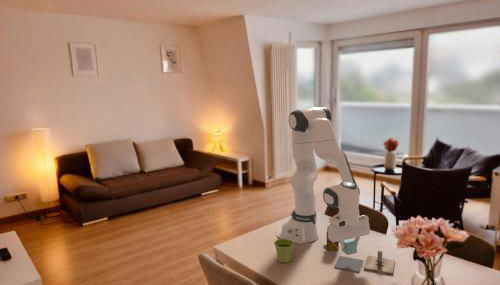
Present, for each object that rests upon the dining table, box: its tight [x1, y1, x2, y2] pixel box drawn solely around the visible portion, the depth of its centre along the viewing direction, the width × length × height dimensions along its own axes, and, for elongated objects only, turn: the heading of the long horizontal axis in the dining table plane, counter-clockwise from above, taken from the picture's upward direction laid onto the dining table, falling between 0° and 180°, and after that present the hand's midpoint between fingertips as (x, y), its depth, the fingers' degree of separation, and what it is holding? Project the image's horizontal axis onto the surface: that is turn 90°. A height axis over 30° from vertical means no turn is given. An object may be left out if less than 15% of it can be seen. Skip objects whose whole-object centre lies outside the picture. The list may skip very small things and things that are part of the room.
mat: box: [333, 255, 364, 274], centre depth 161 cm, size 11×11×1 cm
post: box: [363, 250, 396, 276], centre depth 159 cm, size 12×12×7 cm
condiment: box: [321, 225, 341, 254], centre depth 176 cm, size 7×8×12 cm
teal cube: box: [341, 238, 358, 256], centre depth 160 cm, size 5×5×5 cm
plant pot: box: [273, 238, 295, 264], centre depth 167 cm, size 9×9×9 cm
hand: (349, 246), depth 160 cm, fingers closed on teal cube, 5 cm apart
